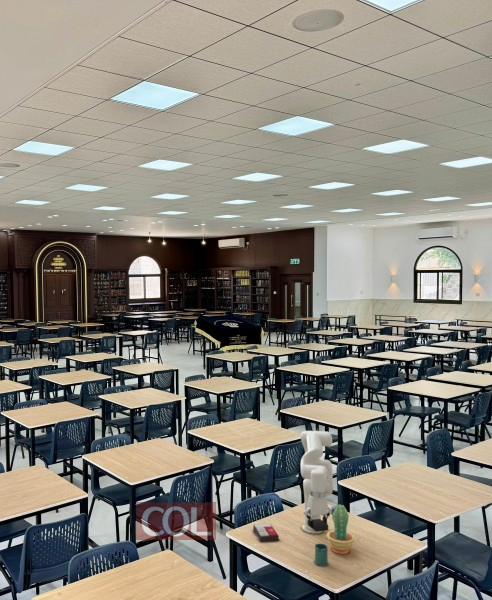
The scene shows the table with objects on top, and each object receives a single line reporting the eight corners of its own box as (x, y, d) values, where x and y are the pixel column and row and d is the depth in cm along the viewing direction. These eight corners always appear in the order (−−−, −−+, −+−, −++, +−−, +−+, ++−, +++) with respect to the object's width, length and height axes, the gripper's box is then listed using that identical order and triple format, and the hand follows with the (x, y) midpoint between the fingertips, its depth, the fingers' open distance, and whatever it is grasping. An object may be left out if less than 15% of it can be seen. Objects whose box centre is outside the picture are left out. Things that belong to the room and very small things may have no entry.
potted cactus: (343, 541, 319) (343, 499, 319) (361, 553, 305) (361, 509, 304) (320, 546, 314) (320, 502, 313) (337, 558, 300) (337, 513, 299)
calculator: (260, 535, 319) (253, 523, 334) (260, 542, 320) (253, 530, 334) (278, 534, 321) (270, 522, 336) (278, 541, 321) (270, 529, 336)
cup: (323, 559, 299) (323, 542, 299) (329, 565, 293) (329, 548, 293) (312, 560, 297) (312, 544, 297) (318, 566, 291) (318, 549, 291)
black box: (319, 523, 301) (319, 518, 301) (328, 530, 292) (328, 525, 292) (307, 524, 299) (307, 520, 299) (315, 531, 291) (315, 527, 291)
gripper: (328, 489, 301) (328, 521, 302) (299, 492, 297) (299, 525, 297) (336, 494, 294) (336, 527, 294) (306, 497, 290) (306, 530, 290)
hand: (317, 525), depth 296 cm, fingers closed on black box, 7 cm apart
